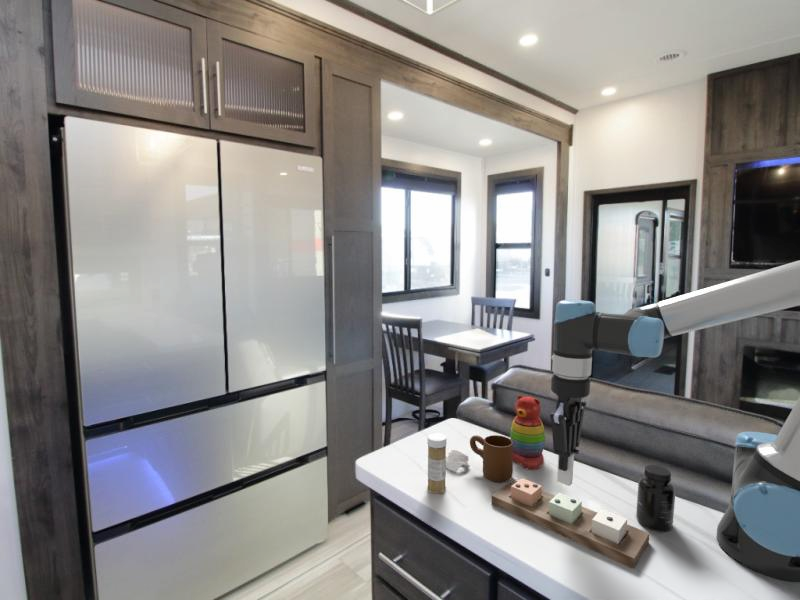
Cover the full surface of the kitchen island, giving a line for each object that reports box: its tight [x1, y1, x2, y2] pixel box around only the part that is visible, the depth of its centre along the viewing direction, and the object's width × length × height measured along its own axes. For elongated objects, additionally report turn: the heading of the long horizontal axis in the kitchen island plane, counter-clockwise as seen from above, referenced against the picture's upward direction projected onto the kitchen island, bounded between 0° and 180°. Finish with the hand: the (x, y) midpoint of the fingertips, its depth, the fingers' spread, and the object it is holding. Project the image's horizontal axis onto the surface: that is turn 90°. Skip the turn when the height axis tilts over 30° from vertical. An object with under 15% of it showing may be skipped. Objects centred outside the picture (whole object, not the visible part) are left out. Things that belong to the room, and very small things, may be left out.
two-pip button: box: [549, 492, 583, 525], centre depth 93 cm, size 5×5×3 cm
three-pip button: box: [511, 477, 543, 507], centre depth 99 cm, size 5×5×3 cm
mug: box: [469, 434, 514, 483], centre depth 114 cm, size 12×8×9 cm, turn 51°
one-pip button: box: [592, 508, 628, 545], centre depth 87 cm, size 5×5×3 cm
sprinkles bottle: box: [427, 433, 448, 494], centre depth 106 cm, size 5×5×14 cm
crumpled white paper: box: [446, 449, 471, 473], centre depth 118 cm, size 8×7×5 cm
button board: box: [491, 478, 650, 569], centre depth 93 cm, size 30×10×2 cm, turn 46°
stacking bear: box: [509, 394, 546, 471], centre depth 121 cm, size 11×10×18 cm
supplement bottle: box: [635, 464, 676, 533], centre depth 93 cm, size 7×7×12 cm
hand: (564, 482), depth 93 cm, fingers closed
